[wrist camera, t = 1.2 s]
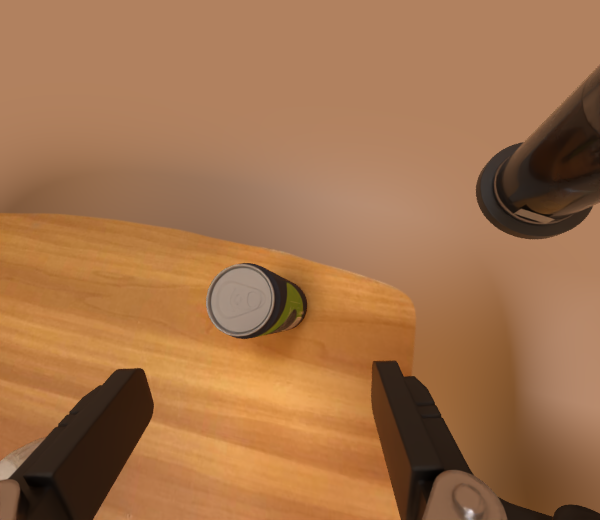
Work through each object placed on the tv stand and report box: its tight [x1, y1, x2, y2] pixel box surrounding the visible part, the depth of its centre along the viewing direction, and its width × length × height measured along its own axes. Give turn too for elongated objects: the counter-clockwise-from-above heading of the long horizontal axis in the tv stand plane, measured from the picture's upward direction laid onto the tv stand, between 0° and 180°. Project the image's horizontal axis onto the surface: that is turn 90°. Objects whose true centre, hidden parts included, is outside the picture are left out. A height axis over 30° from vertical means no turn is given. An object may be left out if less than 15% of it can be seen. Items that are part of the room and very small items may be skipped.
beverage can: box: [206, 263, 307, 339], centre depth 30 cm, size 6×6×15 cm
